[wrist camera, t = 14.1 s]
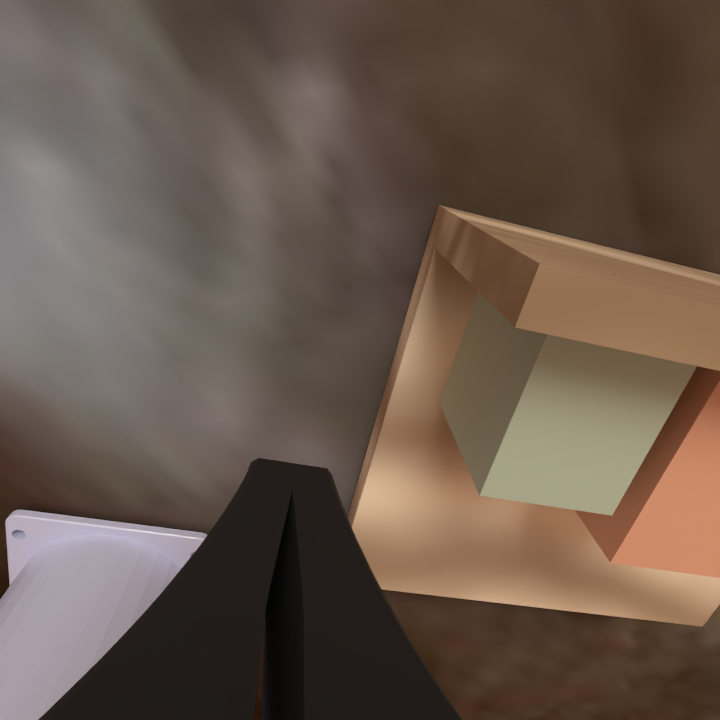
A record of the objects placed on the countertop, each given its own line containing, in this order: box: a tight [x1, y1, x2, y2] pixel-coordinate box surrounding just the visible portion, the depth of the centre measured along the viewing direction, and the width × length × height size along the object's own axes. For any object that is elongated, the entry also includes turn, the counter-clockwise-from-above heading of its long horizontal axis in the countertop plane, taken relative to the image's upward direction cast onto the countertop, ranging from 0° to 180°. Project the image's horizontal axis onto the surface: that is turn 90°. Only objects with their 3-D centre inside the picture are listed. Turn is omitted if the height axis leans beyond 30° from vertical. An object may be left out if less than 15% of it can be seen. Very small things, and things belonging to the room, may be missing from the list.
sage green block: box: [439, 291, 697, 516], centre depth 15 cm, size 5×4×5 cm
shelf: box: [347, 205, 720, 626], centre depth 17 cm, size 16×18×8 cm
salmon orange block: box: [575, 366, 720, 578], centre depth 16 cm, size 7×4×5 cm, turn 167°
